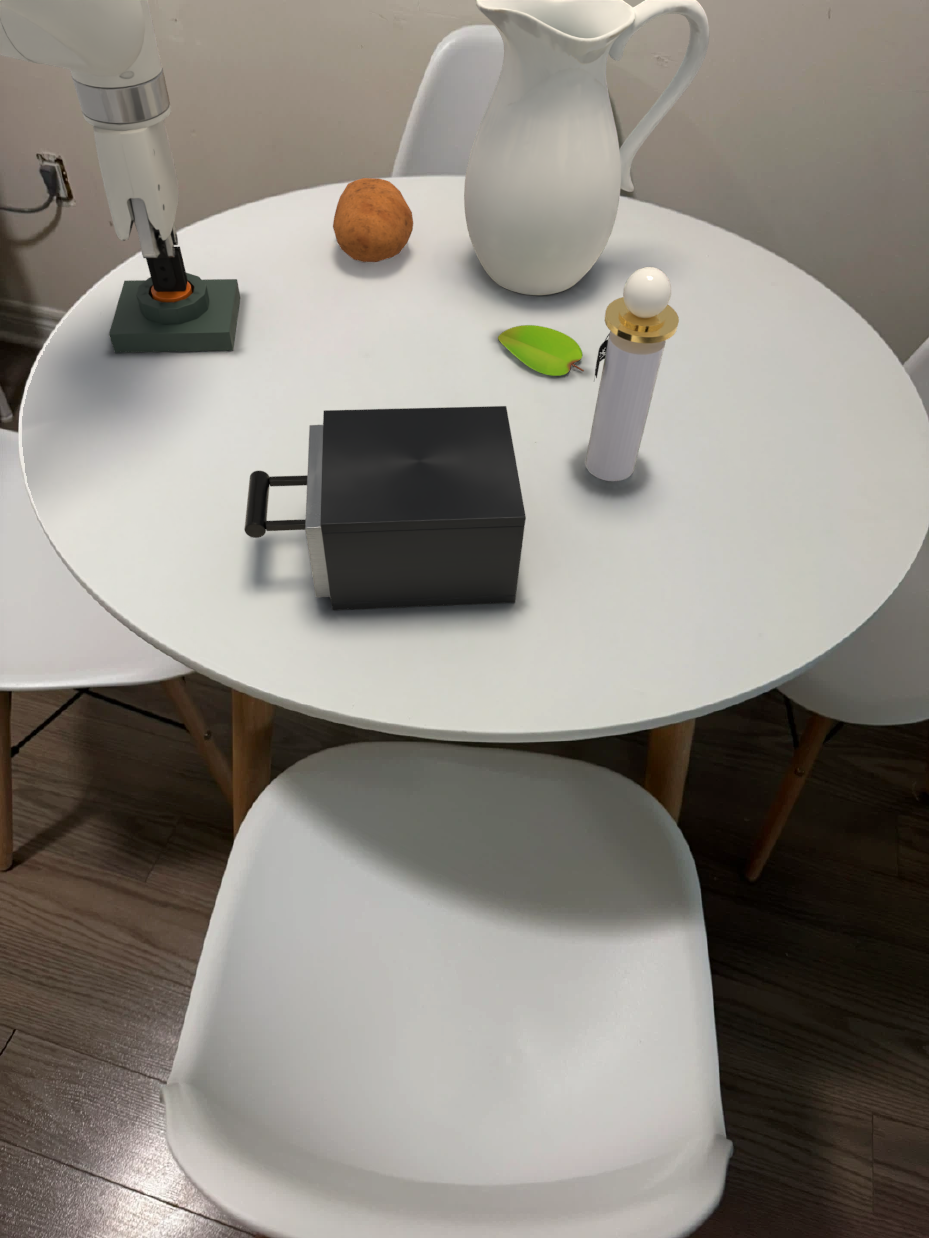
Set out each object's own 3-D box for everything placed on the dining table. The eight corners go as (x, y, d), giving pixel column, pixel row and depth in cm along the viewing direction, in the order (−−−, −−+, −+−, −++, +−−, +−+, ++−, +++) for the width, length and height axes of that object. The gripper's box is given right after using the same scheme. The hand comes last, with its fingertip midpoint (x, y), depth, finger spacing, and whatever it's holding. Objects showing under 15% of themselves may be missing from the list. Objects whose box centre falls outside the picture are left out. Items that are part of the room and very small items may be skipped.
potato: (419, 233, 107) (419, 170, 102) (405, 282, 100) (404, 218, 95) (345, 226, 108) (340, 163, 102) (326, 274, 101) (320, 210, 95)
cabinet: (332, 610, 70) (320, 524, 63) (333, 499, 78) (323, 410, 70) (515, 602, 71) (525, 517, 64) (498, 493, 79) (506, 405, 72)
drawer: (252, 600, 69) (234, 530, 63) (261, 498, 77) (246, 426, 70) (485, 590, 71) (491, 521, 65) (473, 491, 78) (477, 420, 72)
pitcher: (473, 315, 97) (488, 24, 75) (451, 237, 107) (458, -39, 85) (681, 303, 100) (753, 21, 78) (640, 228, 110) (693, -40, 88)
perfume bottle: (650, 466, 82) (703, 266, 67) (621, 500, 79) (669, 300, 64) (596, 442, 84) (635, 242, 68) (566, 474, 81) (600, 274, 65)
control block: (114, 353, 90) (103, 318, 87) (129, 298, 96) (119, 264, 93) (233, 350, 91) (226, 316, 88) (240, 297, 97) (234, 263, 94)
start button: (152, 314, 91) (148, 299, 89) (157, 293, 93) (153, 278, 92) (192, 314, 91) (188, 298, 89) (196, 292, 93) (192, 277, 92)
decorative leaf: (523, 387, 90) (524, 380, 89) (493, 335, 94) (493, 327, 94) (592, 370, 91) (593, 362, 90) (559, 319, 96) (559, 312, 95)
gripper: (94, 60, 81) (144, 250, 95) (61, 132, 71) (123, 330, 86) (177, 60, 81) (215, 249, 96) (155, 132, 72) (201, 329, 86)
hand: (171, 287), depth 91 cm, fingers closed
